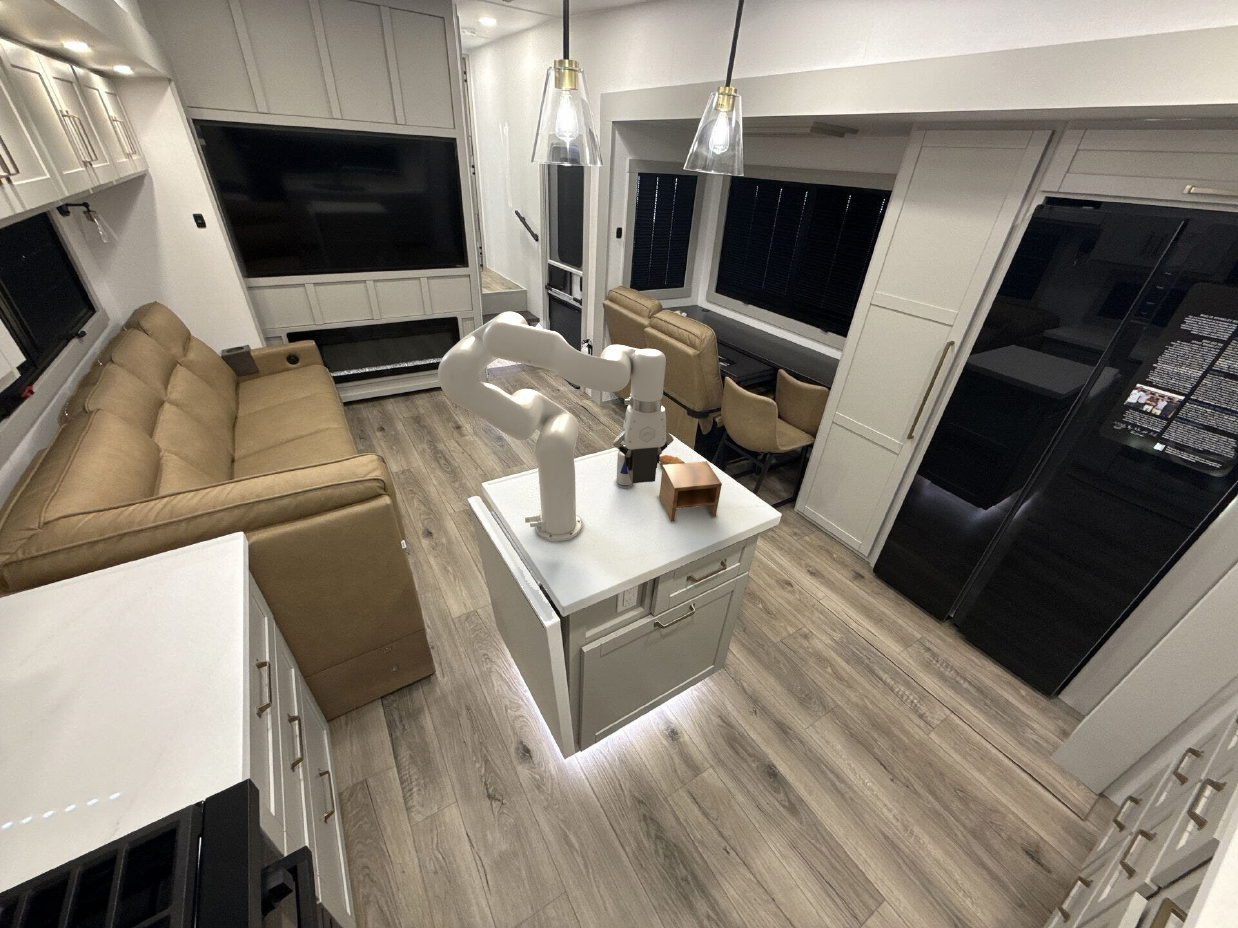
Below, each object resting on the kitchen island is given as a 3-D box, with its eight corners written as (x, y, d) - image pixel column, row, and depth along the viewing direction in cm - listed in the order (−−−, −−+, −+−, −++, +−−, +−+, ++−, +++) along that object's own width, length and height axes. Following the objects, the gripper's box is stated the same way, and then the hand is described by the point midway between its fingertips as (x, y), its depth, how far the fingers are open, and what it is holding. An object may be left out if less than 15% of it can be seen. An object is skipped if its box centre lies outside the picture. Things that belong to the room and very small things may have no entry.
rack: (670, 521, 140) (674, 488, 133) (659, 497, 150) (662, 464, 143) (715, 516, 143) (722, 483, 136) (701, 493, 152) (706, 461, 146)
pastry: (653, 463, 166) (654, 454, 164) (667, 457, 170) (668, 448, 168) (673, 475, 160) (674, 465, 158) (687, 469, 164) (688, 459, 162)
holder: (632, 483, 122) (634, 449, 117) (627, 470, 127) (628, 437, 121) (655, 481, 123) (658, 447, 118) (649, 468, 128) (651, 435, 123)
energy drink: (633, 488, 153) (635, 456, 147) (616, 488, 153) (617, 455, 147) (632, 479, 158) (634, 447, 151) (616, 478, 158) (617, 447, 151)
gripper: (613, 411, 109) (611, 477, 119) (686, 407, 112) (678, 471, 122) (607, 398, 115) (605, 461, 125) (676, 394, 118) (669, 456, 128)
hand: (641, 466), depth 123 cm, fingers closed on holder, 6 cm apart
